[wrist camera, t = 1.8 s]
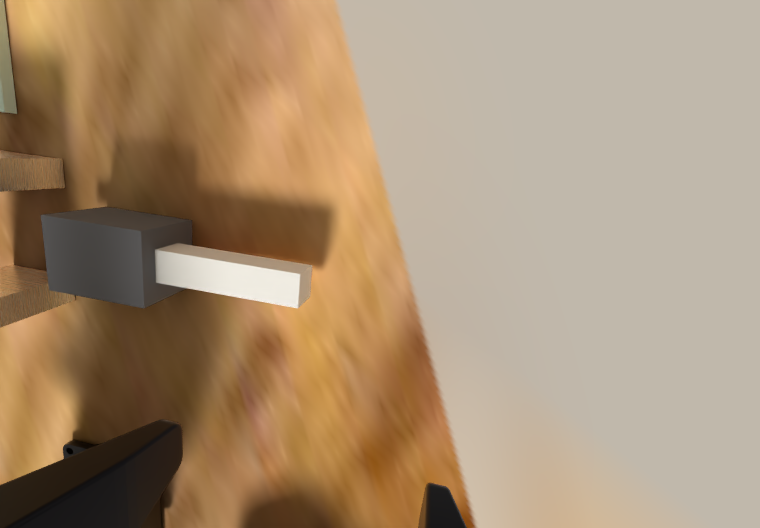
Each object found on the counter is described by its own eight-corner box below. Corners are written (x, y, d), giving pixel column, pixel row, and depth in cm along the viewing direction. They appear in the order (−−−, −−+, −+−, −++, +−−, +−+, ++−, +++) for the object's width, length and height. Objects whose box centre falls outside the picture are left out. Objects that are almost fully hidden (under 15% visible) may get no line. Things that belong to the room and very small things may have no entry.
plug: (99, 268, 22) (34, 287, 19) (94, 204, 21) (25, 212, 18) (316, 307, 20) (289, 336, 17) (321, 240, 19) (294, 256, 16)
